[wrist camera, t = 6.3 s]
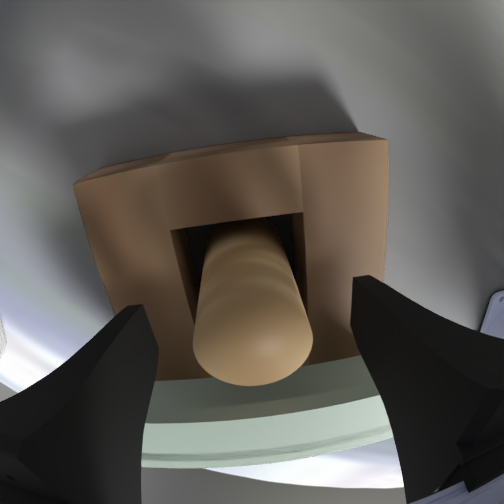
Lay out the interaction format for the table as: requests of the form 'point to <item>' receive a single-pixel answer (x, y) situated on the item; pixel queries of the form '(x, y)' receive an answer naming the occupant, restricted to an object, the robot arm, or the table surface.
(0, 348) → the paper towel roll
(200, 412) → the pale green grooved slab
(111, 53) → the table surface
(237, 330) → the peg
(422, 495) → the robot arm
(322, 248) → the socket block
